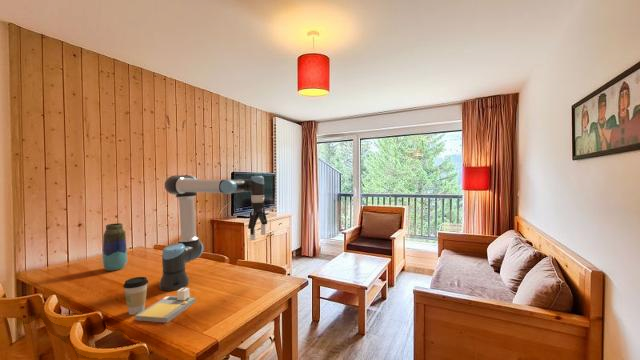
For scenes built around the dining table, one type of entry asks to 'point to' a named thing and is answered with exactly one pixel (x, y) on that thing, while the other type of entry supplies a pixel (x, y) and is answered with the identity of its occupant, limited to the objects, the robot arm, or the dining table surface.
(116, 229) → the vase
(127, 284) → the coffee cup
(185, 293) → the breaker slider
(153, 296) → the dining table surface
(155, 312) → the panel
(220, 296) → the dining table surface
